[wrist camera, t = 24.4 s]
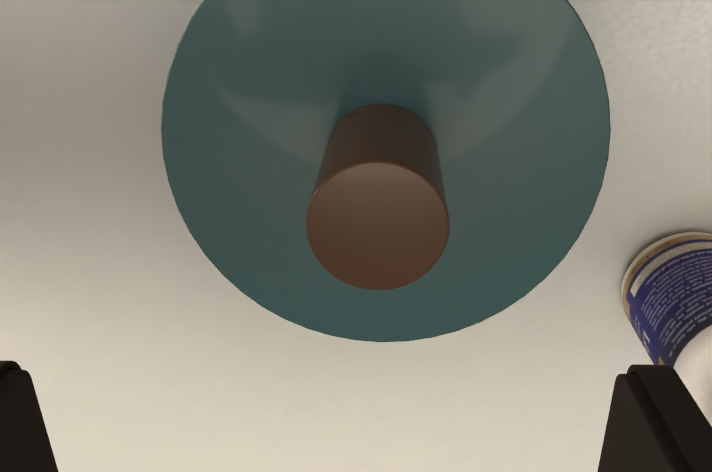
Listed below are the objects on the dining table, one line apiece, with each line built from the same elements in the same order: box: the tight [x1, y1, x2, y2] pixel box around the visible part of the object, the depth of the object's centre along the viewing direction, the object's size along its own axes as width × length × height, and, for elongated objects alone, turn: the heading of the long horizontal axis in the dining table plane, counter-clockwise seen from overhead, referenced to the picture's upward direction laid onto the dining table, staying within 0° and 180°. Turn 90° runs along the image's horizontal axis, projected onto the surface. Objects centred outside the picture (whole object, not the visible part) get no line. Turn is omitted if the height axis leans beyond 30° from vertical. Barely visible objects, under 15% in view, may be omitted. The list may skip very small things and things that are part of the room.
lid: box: [161, 0, 611, 342], centre depth 20 cm, size 15×15×7 cm
